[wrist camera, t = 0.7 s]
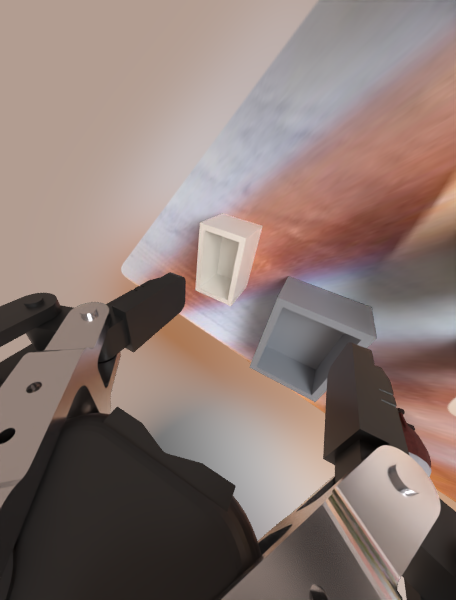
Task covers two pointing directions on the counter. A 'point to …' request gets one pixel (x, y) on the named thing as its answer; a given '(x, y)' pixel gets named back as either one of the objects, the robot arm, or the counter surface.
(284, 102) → the counter surface
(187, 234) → the counter surface
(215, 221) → the white crate
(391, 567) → the robot arm
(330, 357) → the slate crate
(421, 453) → the mate gourd
